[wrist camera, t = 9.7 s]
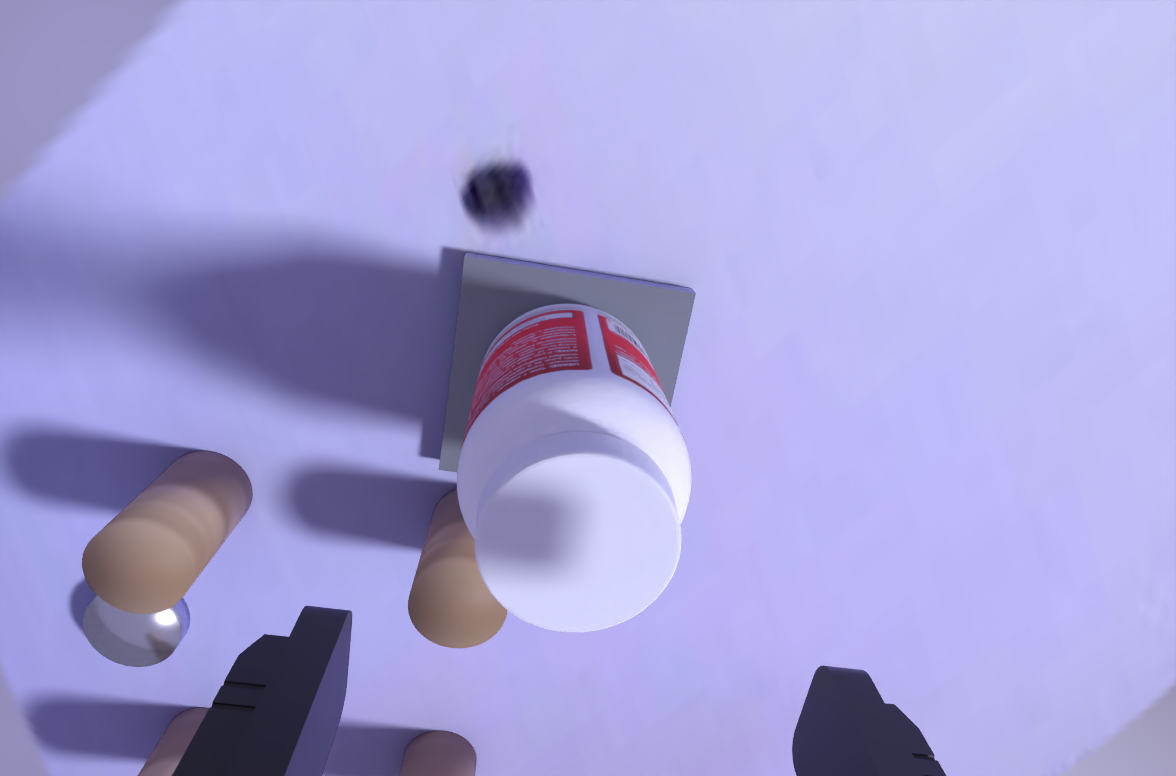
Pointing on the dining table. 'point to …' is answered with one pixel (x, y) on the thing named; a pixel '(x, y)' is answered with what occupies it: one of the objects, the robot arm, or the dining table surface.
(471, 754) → the cylinder
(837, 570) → the dining table surface
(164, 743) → the cylinder
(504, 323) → the slate coaster
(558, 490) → the pill bottle
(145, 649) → the shiny metal disc
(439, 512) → the cylinder
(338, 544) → the dining table surface
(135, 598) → the cylinder
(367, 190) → the dining table surface
